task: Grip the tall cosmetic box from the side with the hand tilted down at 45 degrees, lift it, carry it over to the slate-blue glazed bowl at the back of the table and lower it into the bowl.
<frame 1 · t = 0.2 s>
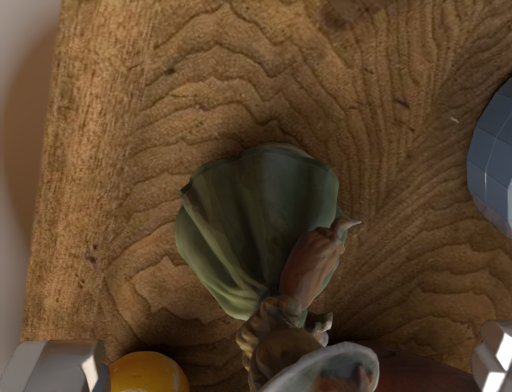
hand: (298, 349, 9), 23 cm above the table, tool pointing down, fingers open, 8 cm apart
figurine: (258, 216, 35), on the table
bowl: (353, 381, 45), on the table
fruit: (147, 367, 41), on the table
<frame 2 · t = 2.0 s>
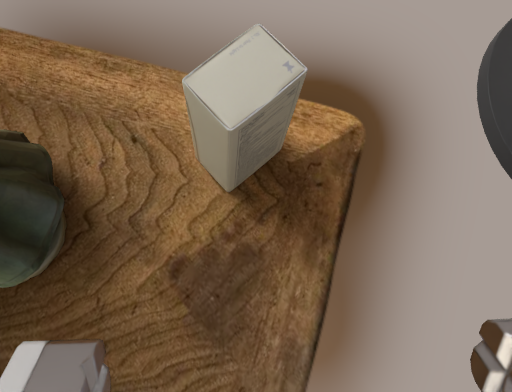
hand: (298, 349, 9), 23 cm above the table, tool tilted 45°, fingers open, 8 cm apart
cosmetic box: (238, 156, 36), on the table
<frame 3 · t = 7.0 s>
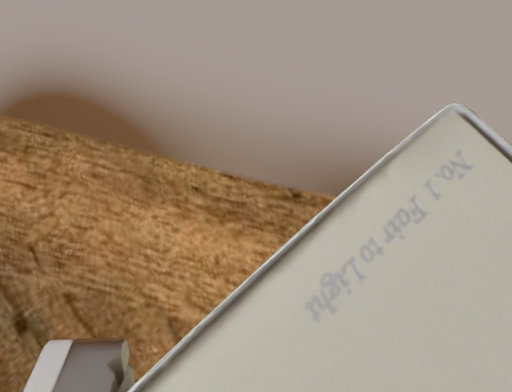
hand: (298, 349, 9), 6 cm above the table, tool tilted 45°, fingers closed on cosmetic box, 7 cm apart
cosmetic box: (269, 359, 15), on the table, touching gripper
when the fingers open (7 cm above the table, at t = 22.2 s): cosmetic box stays where it is, resting on glazed bowl.
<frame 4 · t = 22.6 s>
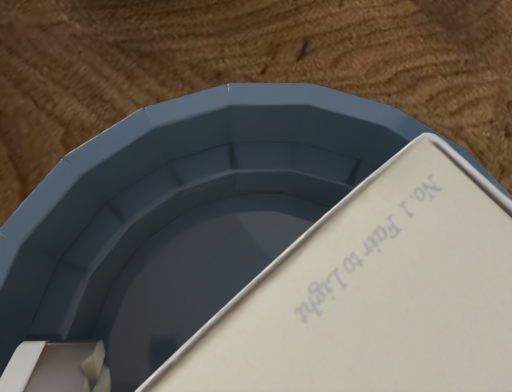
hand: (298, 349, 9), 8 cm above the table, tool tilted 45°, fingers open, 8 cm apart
cosmetic box: (268, 358, 16), resting on glazed bowl
glazed bowl: (265, 358, 16), on the table
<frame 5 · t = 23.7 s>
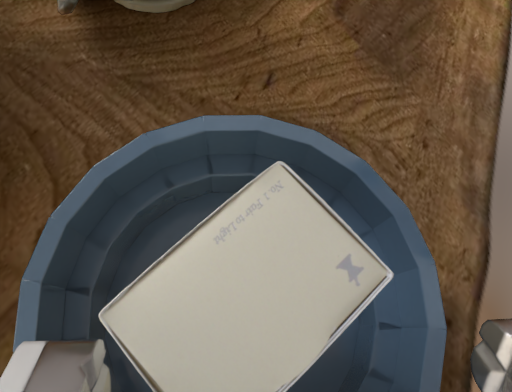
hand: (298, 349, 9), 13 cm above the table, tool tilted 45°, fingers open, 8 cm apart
cosmetic box: (236, 311, 22), resting on glazed bowl
glazed bowl: (234, 311, 22), on the table
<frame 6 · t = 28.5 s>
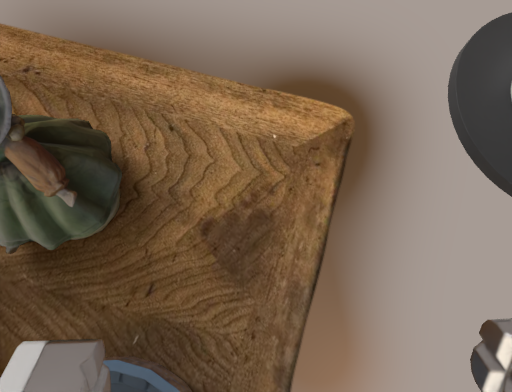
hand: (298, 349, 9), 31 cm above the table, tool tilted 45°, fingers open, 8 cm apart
figurine: (54, 190, 42), on the table
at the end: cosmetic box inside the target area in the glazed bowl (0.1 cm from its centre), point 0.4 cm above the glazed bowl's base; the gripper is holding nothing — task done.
